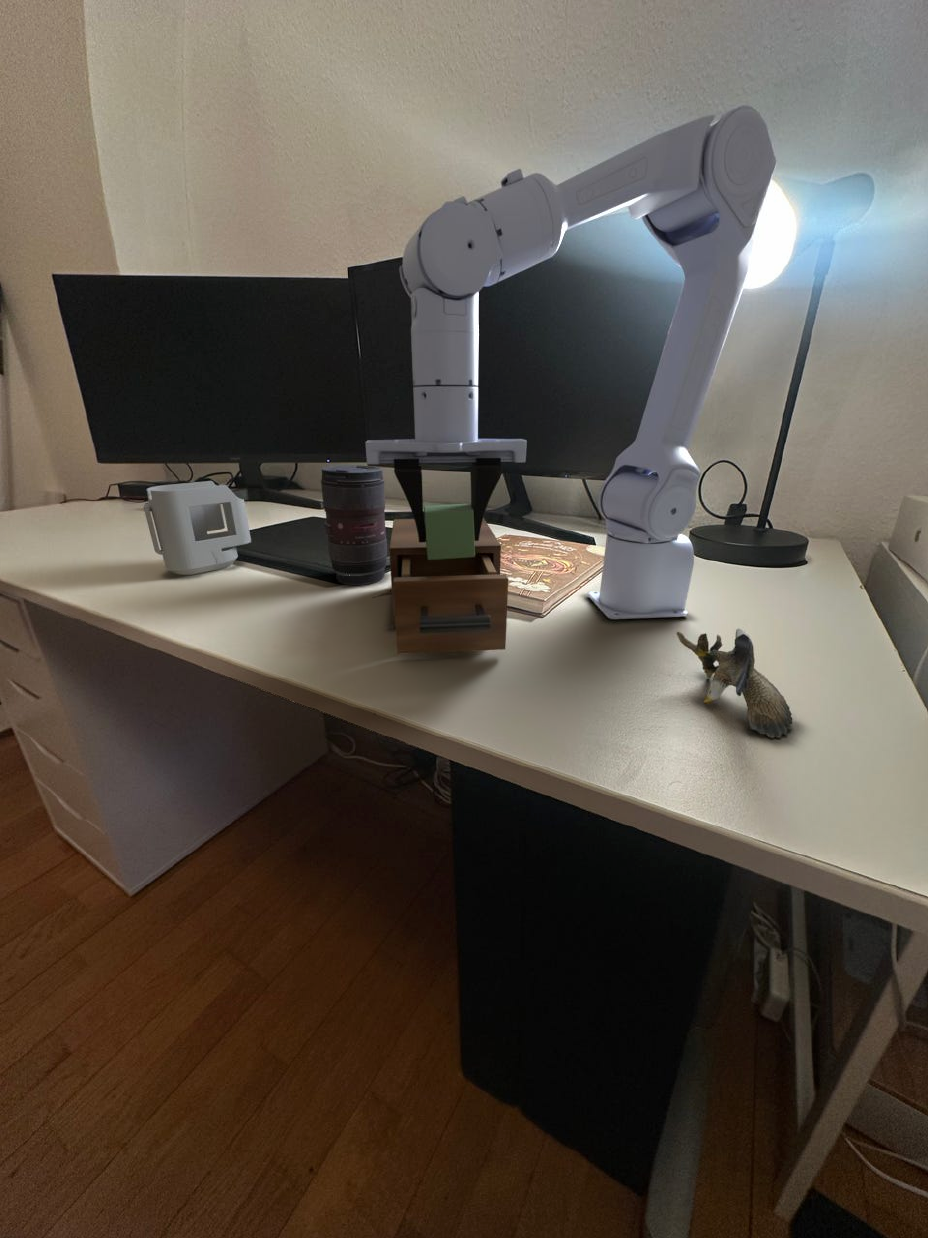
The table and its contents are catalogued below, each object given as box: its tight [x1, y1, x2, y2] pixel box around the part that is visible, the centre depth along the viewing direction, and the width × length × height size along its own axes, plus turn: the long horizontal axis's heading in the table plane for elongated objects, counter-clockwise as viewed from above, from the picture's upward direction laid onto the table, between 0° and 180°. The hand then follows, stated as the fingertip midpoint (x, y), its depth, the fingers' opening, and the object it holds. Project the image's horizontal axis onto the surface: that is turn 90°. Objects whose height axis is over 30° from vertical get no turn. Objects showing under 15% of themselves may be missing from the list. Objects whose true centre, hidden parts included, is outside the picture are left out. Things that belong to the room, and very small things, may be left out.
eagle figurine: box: [676, 627, 793, 739], centre depth 40 cm, size 8×7×9 cm
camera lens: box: [320, 464, 388, 586], centre depth 66 cm, size 8×8×15 cm
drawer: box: [393, 553, 509, 655], centre depth 49 cm, size 17×10×7 cm, turn 6°
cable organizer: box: [143, 480, 252, 576], centre depth 71 cm, size 7×12×12 cm, turn 134°
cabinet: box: [388, 517, 502, 630], centre depth 59 cm, size 14×12×9 cm
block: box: [423, 503, 475, 560], centre depth 48 cm, size 4×4×4 cm
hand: (448, 539), depth 49 cm, fingers closed on block, 4 cm apart
